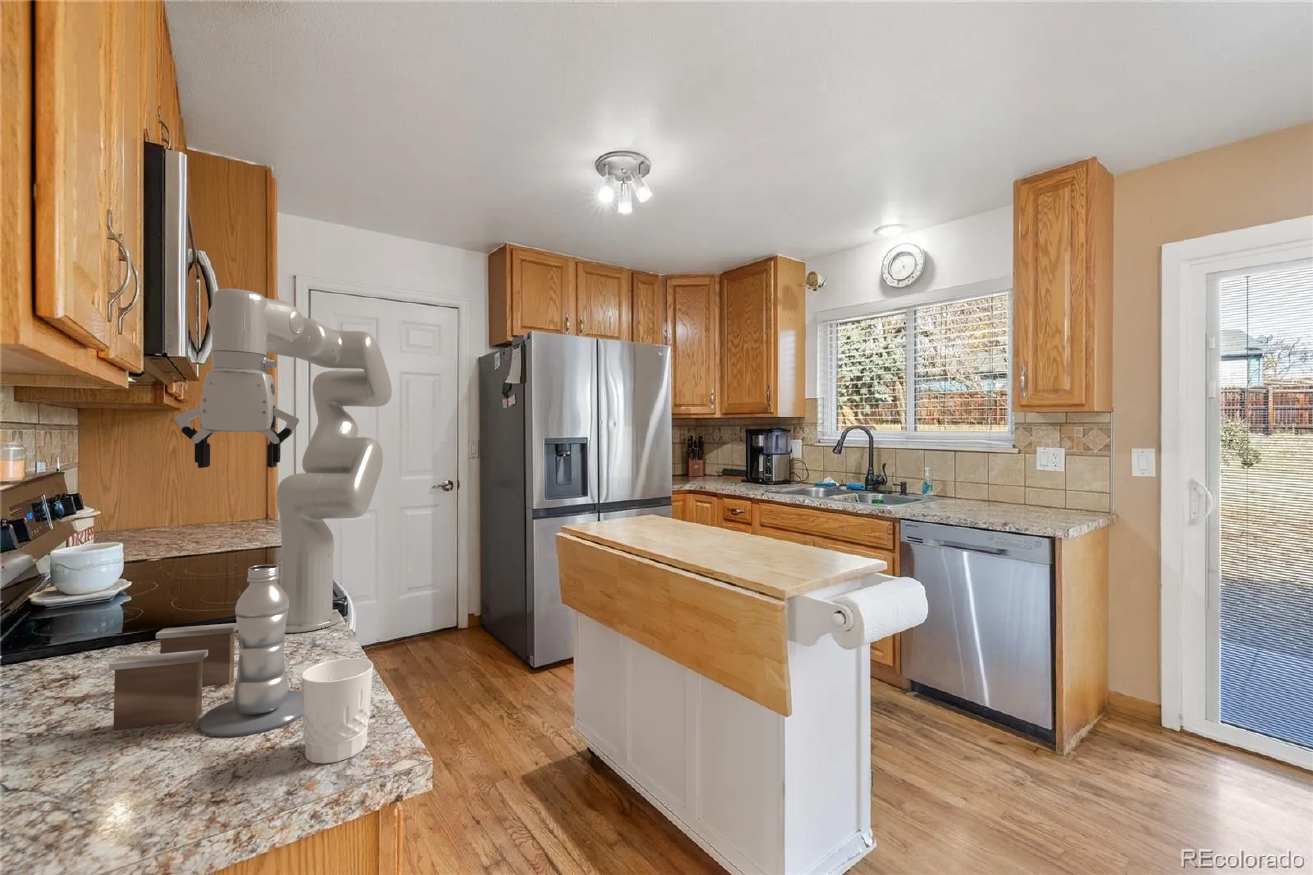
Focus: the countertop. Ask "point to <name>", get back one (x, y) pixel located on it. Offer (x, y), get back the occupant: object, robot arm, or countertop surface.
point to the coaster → (250, 718)
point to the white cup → (336, 708)
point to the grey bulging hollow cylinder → (261, 643)
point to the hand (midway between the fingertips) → (238, 467)
